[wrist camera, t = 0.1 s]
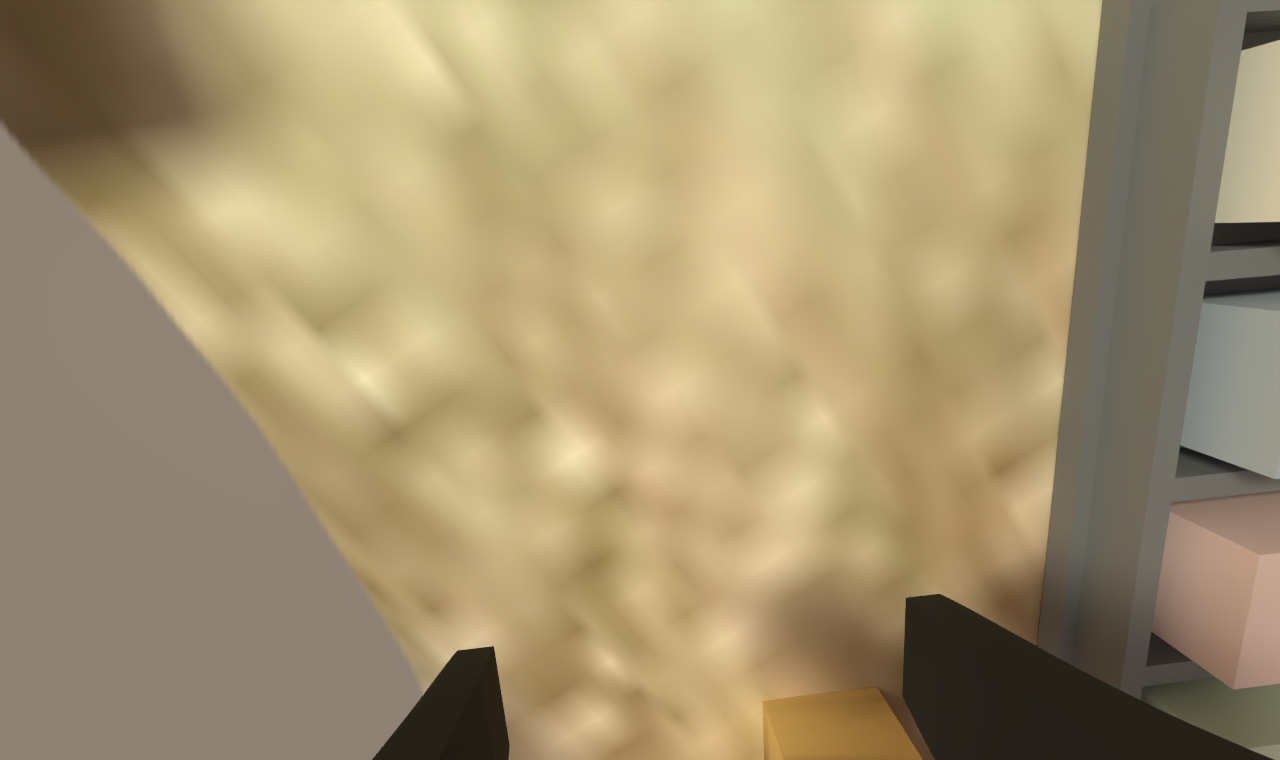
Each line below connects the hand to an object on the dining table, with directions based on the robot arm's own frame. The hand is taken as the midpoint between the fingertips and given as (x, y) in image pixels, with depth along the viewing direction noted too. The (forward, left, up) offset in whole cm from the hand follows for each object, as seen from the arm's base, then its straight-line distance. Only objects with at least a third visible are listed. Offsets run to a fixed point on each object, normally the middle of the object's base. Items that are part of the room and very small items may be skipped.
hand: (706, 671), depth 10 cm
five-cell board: (-5, -19, -10) cm, 22 cm away
